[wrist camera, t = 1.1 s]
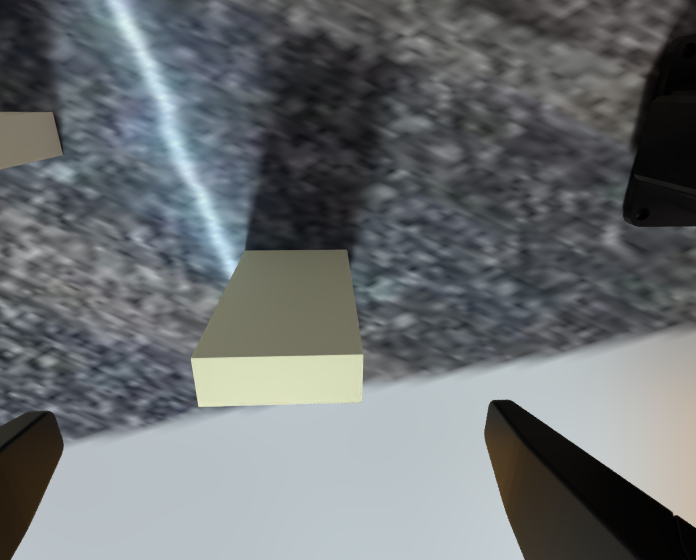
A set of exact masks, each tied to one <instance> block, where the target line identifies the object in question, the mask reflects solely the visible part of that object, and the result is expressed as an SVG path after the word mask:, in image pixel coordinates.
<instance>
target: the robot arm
mask: <svg viewBox="0 0 696 560" xmlns="http://www.w3.org/2000/svg"><path fill="white" fill-rule="evenodd" d="M685 45H686V47H687V54H686V56H685V57H684V58H682V56H681V51H682V49H683V47H684V46H685ZM633 173H634V174H633V178H632V181H631V185H630V189H629V193H628V197H627V200H626V204H625V208H624V213H623V217H624V219H625V221H626V222H628V223H629V224H632V225H634V226H638V227H668V226H696V34H691V35H685V36H680V37H678V38H676V39H674V40H673V41H672V42H671V43H670V45H669V46H668V48H667V50H666V53H665V57H664V61H663V64H662V68H661V72H660V76H659V79H658V83H657V87H656V91H655V95H654V98H653V102H652V103H651V106H650V110H649V114H648V117H647V121H646V125H645V129H644V133H643V136H642V140H641V144H640V148H639V151H638V155H637V159H636V163H635V167H634V170H633ZM641 208H642V213H641V215H640V216H638V217H636V214H637V212H638V210H640V209H641ZM484 435H485V442H486V445H487V449H488V453H489V456H490V460H491V463H492V466H493V470H494V474H495V477H496V481H497V484H498V487H499V491H500V495H501V498H502V501H503V505H504V508H505V511H506V514H507V516H508V519H509V522H510V524H511V527H512V529H513V532H514V534H515V537H516V539H517V542H518V544H519V547H520V549H521V552H522V554H523V557H524V559H525V560H696V528H695V527H694V526H692V525H691V524H689V523H688V522H686V521H685V520H683V519H682V518H680V517H679V516H678V515H675V516H674V515H673V512H671V511H670V510H669V509H667V508H666V507H665V506H663V505H662V504H660V503H659V502H657V501H656V500H654V499H653V498H651V497H650V496H649V495H647V494H646V493H644V492H643V491H641V490H640V489H639V488H637V487H635V486H634V485H632V484H631V483H630V482H628V481H627V480H626V479H624V478H623V477H621V476H620V475H618V474H617V473H615V472H614V471H613V470H611V469H610V468H608V467H607V466H605V465H604V464H602V463H601V462H600V461H598V460H597V459H595V458H594V457H592V456H591V455H589V454H588V453H587V452H585V451H584V450H582V449H581V448H579V447H578V446H576V445H575V444H574V443H572V442H571V441H569V440H568V439H566V438H565V437H563V436H562V435H561V434H559V433H557V432H556V431H554V430H553V429H552V428H550V427H549V426H548V425H546V424H545V423H543V422H542V421H540V420H539V419H537V418H536V417H534V416H533V415H532V414H530V413H529V412H527V411H526V410H524V409H523V408H522V407H520V406H519V405H517V404H516V403H514V402H513V401H511V400H493V401H491V402H490V404H489V407H488V413H487V420H486V425H485V432H484ZM63 447H64V444H63V439H62V436H61V433H60V430H59V426H58V423H57V420H56V417H55V415H54V414H53V413H52V412H50V411H30V412H27V413H25V414H23V415H21V416H19V417H17V418H15V419H13V420H12V421H10V422H8V423H6V424H4V425H2V426H0V560H11V558H12V557H13V555H14V553H15V551H16V550H17V548H18V546H19V544H20V543H21V541H22V539H23V537H24V535H25V533H26V532H27V530H28V527H29V526H30V523H31V521H32V519H33V517H34V515H35V513H36V511H37V508H38V506H39V504H40V502H41V500H42V498H43V495H44V493H45V491H46V489H47V486H48V484H49V482H50V479H51V477H52V475H53V473H54V471H55V469H56V466H57V464H58V462H59V460H60V457H61V455H62V452H63Z"/></svg>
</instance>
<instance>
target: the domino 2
mask: <svg viewBox="0 0 696 560" xmlns="http://www.w3.org/2000/svg"><path fill="white" fill-rule="evenodd" d="M191 362H192V368H193V375H194V381H195V387H196V394H197V400H198V406H199V407H210V406H246V405H283V404H317V403H318V404H319V403H356V402H362V379H363V350H362V344H361V337H360V331H359V324H358V318H357V311H356V305H355V298H354V292H353V285H352V279H351V272H350V266H349V259H348V253H347V250H253V251H244V253H243V255H242V257H241V259H240V261H239V263H238V265H237V267H236V269H235V271H234V273H233V275H232V277H231V279H230V281H229V283H228V285H227V287H226V289H225V291H224V293H223V295H222V297H221V299H220V301H219V303H218V305H217V307H216V309H215V311H214V313H213V315H212V317H211V319H210V321H209V323H208V325H207V327H206V329H205V331H204V333H203V335H202V337H201V339H200V341H199V343H198V345H197V347H196V349H195V351H194V353H193V355H192V357H191Z"/></svg>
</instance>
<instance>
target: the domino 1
mask: <svg viewBox="0 0 696 560" xmlns="http://www.w3.org/2000/svg"><path fill="white" fill-rule="evenodd" d="M61 155H63V153H62V149H61V145H60V140H59V136H58V132H57V128H56V124H55V120H54V116H53V112H0V169H5V168H9V167H13V166H18V165H22V164H26V163H31V162H35V161H39V160H43V159H48V158H52V157H56V156H61Z"/></svg>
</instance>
